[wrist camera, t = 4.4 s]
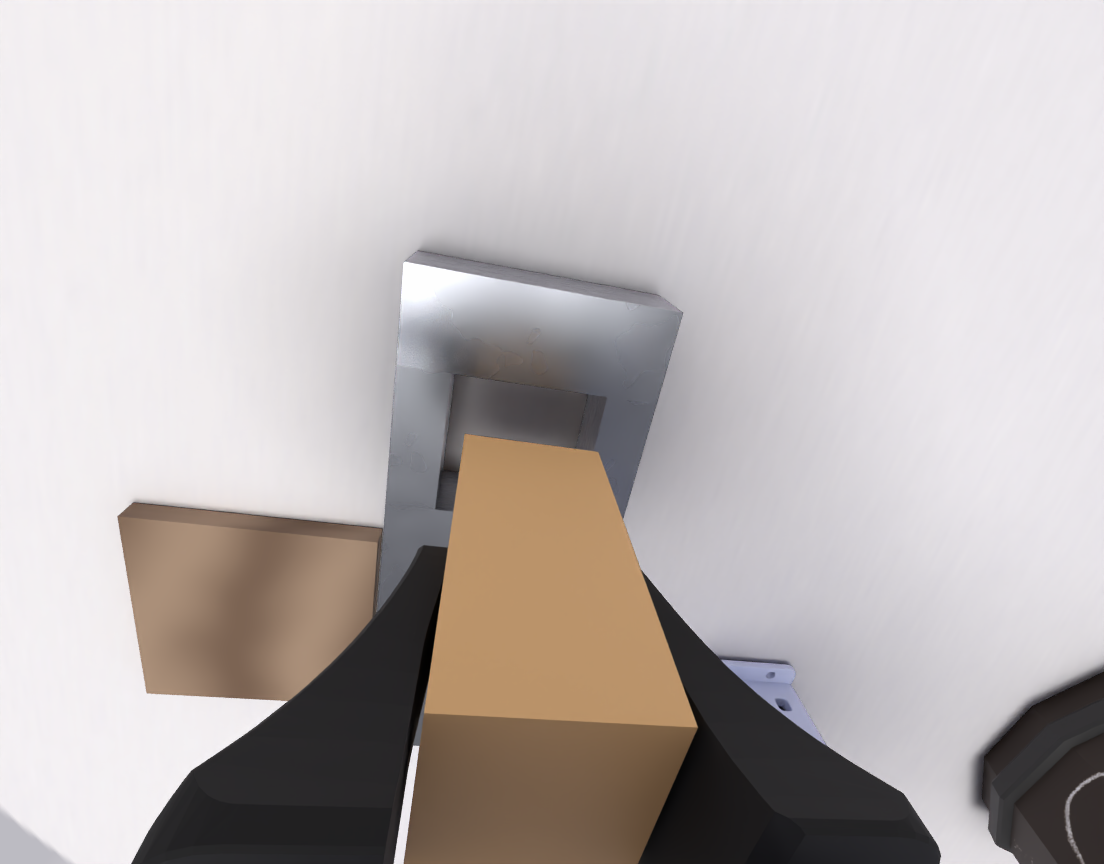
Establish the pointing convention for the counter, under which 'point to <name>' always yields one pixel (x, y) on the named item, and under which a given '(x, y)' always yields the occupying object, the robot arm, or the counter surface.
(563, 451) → the peg
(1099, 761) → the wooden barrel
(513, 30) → the counter surface
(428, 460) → the grey slotted block
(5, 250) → the counter surface
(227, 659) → the board
